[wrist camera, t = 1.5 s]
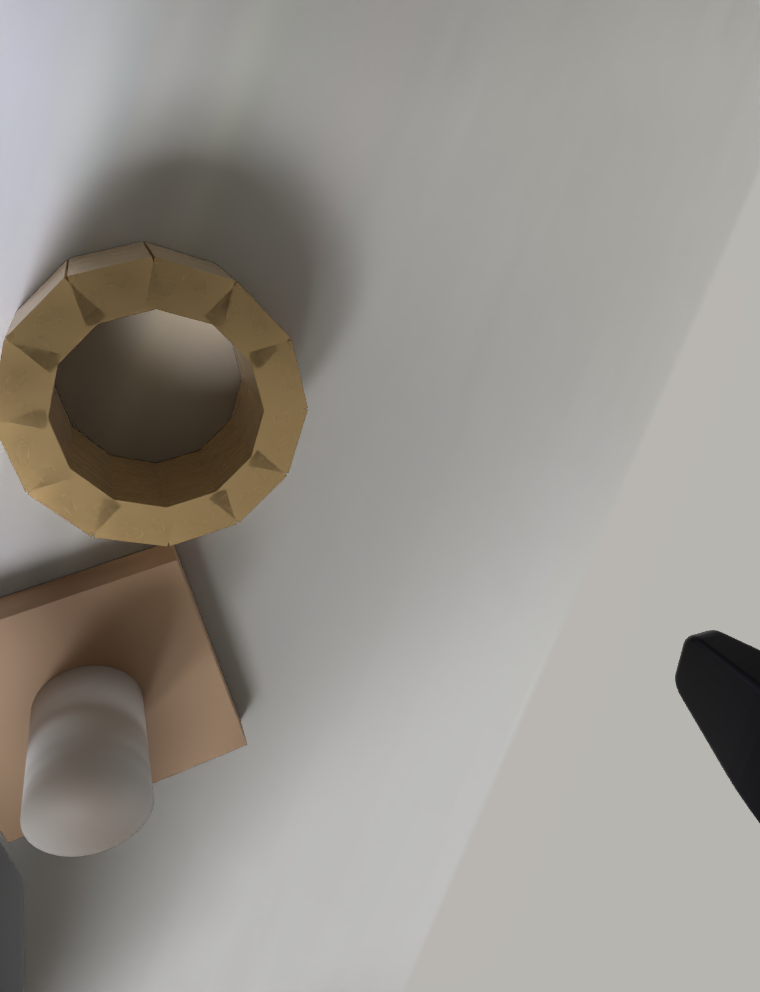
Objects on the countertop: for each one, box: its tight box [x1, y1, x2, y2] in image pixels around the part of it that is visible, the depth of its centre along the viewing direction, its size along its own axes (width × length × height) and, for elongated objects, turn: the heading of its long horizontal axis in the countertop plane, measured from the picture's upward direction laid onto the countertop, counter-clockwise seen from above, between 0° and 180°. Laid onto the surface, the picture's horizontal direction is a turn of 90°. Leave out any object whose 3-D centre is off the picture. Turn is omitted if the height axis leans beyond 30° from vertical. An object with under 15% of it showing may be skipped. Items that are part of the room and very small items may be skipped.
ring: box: [0, 242, 308, 546], centre depth 18 cm, size 7×7×3 cm
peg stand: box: [0, 542, 247, 857], centre depth 20 cm, size 8×8×5 cm
